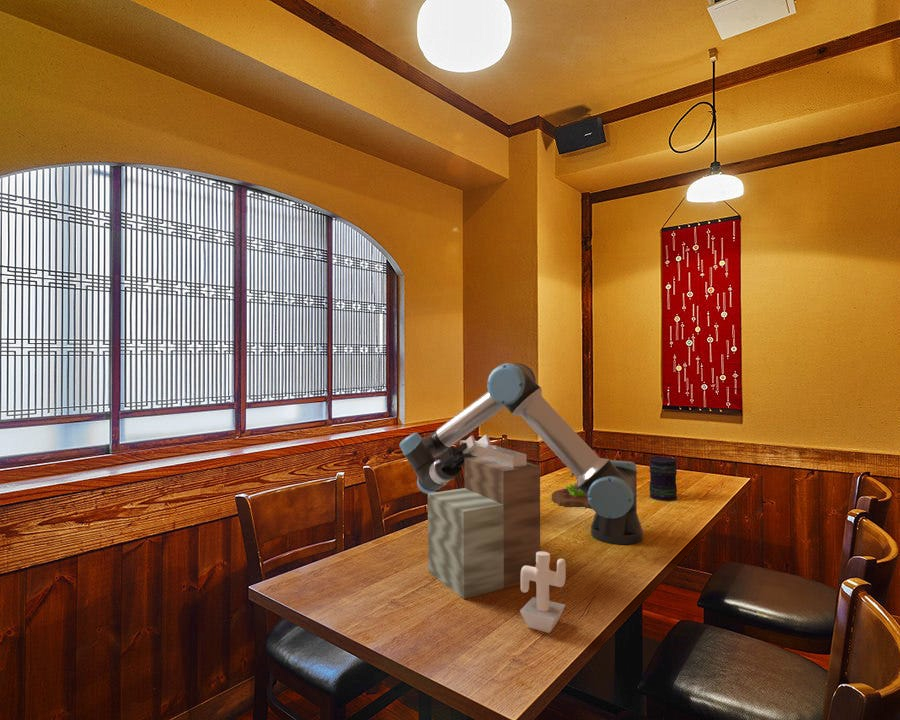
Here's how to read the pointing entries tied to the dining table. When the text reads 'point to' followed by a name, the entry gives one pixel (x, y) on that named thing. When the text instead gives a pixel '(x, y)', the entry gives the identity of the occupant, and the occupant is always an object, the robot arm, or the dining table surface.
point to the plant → (571, 496)
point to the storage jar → (663, 478)
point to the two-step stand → (485, 528)
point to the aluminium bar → (498, 454)
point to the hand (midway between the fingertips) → (480, 439)
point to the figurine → (542, 593)
